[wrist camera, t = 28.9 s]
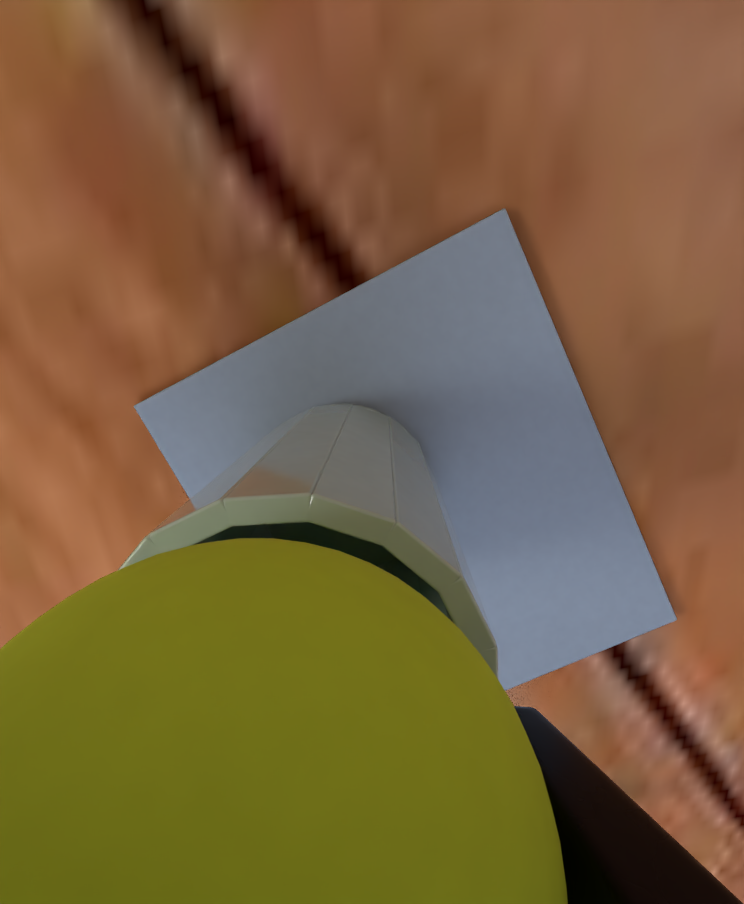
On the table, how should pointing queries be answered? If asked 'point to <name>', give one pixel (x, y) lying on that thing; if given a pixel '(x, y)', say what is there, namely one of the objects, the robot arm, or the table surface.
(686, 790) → the table surface
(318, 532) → the cup
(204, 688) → the ball
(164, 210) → the table surface
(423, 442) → the mat
